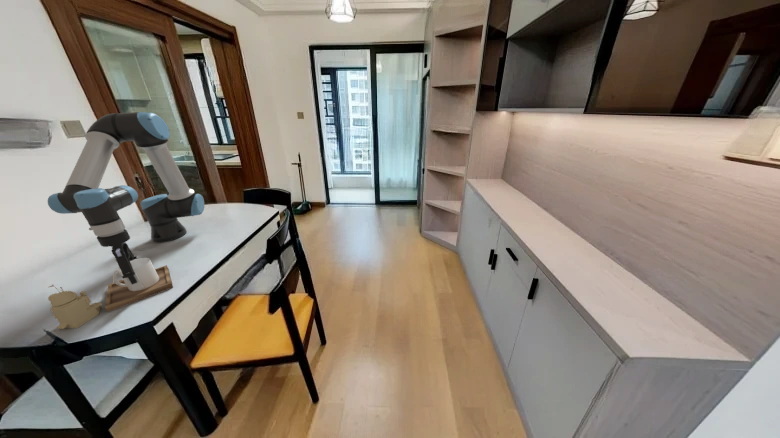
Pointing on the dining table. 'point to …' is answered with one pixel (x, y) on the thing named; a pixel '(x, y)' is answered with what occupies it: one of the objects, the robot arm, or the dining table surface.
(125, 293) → the tray
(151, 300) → the dining table surface
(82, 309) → the robot
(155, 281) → the mug
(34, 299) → the dining table surface
